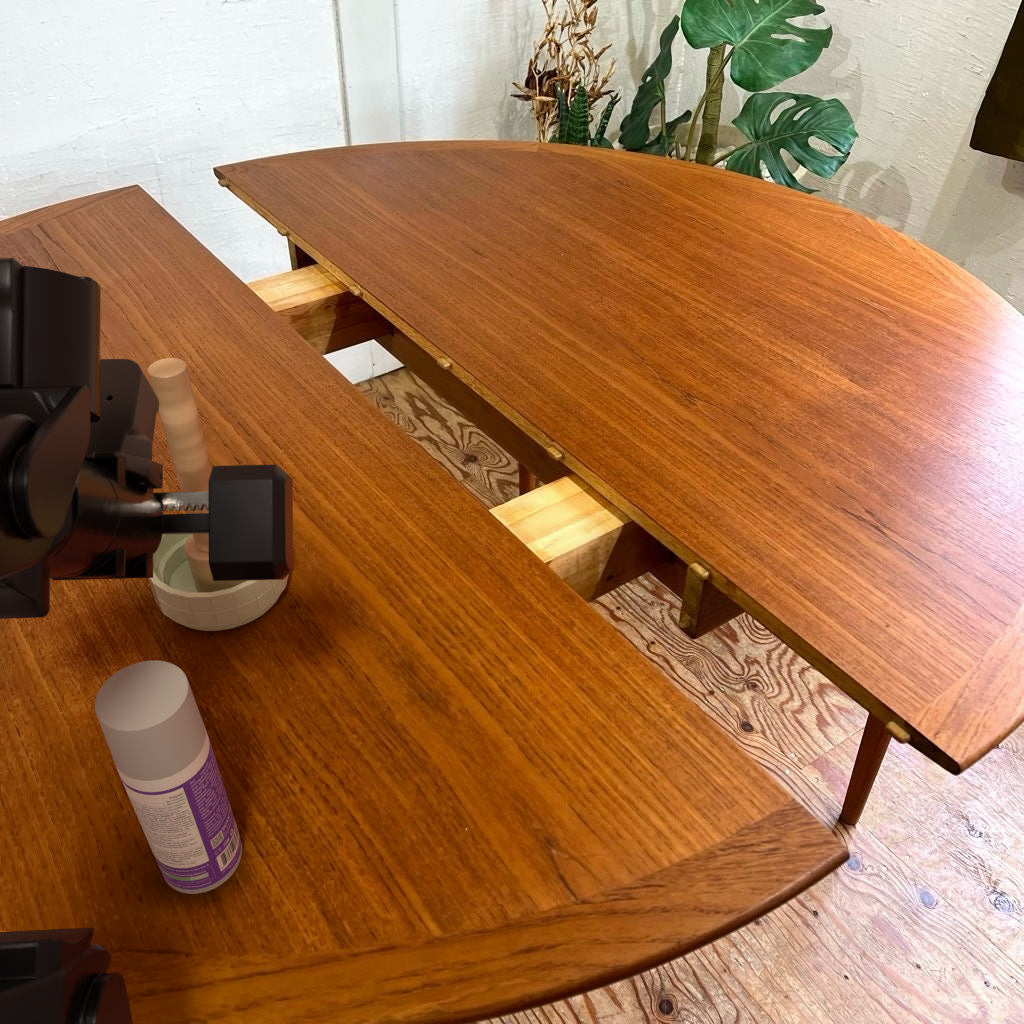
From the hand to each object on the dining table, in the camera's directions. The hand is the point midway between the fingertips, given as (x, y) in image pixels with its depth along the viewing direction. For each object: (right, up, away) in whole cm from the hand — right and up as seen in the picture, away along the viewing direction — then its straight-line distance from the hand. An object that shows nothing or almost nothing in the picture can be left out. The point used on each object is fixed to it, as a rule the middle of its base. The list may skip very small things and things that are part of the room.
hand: (165, 536), depth 60 cm
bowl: (-1, -4, +14) cm, 15 cm away
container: (+3, -19, -3) cm, 20 cm away
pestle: (-1, -4, +14) cm, 14 cm away
